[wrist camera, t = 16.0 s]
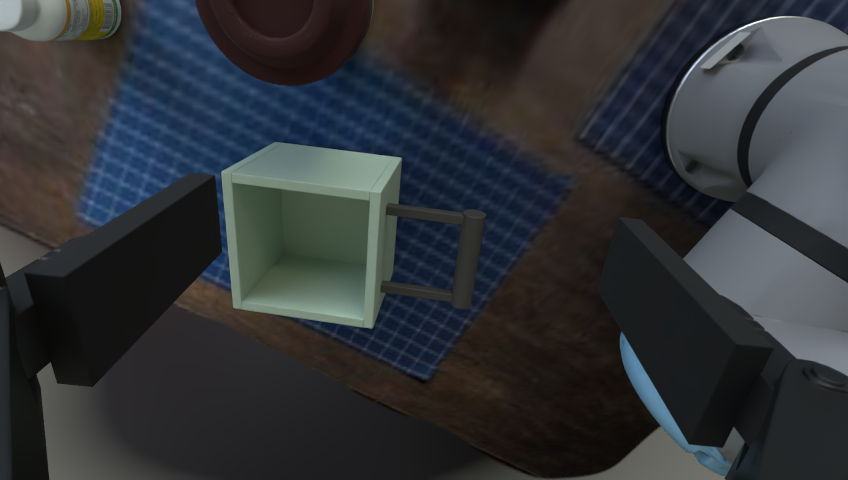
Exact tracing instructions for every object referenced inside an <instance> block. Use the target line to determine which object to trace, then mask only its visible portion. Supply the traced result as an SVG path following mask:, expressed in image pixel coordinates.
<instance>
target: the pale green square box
mask: <svg viewBox="0 0 848 480" xmlns="http://www.w3.org/2000/svg"><path fill="white" fill-rule="evenodd" d="M401 166H402V158H399V157H391V156H383V155H375V154H368V153H360V152H352V151H344V150H336V149H328V148H320V147H312V146H304V145H296V144H288V143H280V142H274V143H272V144H271V145H269V146H267V147H265V148H263V149H262V150H260V151H258V152H256V153H254V154H253V155H251V156H249V157H247V158H245V159H243V160H242V161H240V162H238V163H236V164H234V165H233V166H231V167H229V168H227V169H225V170H223V171H222V172H221V175H222V186H223V197H224V208H225V220H226V231H227V242H228V253H229V265H230V276H231V287H232V299H233V308H237V309H243V310H249V311H256V312H262V313H269V314H276V315H283V316H289V317H296V318H303V319H310V320H316V321H323V322H330V323H336V324H343V325H350V326H357V327H364V328H371V329H372V328H373V326H374V323H375V320H376V318H377V315H378V312H379V309H380V306H381V304H382V301H383V298H384V295H385V293H390V294H397V295H404V296H411V297H418V298H424V299H431V300H438V301H445V302H451V305H452V306H454V307H455V308H458V309H467V308H469V307H470V306H471V303H472V297H473V291H474V285H475V279H476V273H477V267H478V261H479V255H480V249H481V242H482V236H483V230H484V224H485V218H486V214H485V213H484V212H482V211H479V210H474V209H469V210H465V211H464V212H463V213H461V212H454V211H446V210H439V209H431V208H423V207H416V206H408V205H401V204H398V203H399V191H400V178H401ZM397 216H398V217H405V218H412V219H420V220H427V221H435V222H442V223H450V224H457V225H461V231H460V238H459V245H458V252H457V259H456V266H455V273H454V280H453V287H452V290H447V289H440V288H433V287H426V286H419V285H412V284H405V283H398V282H391V281H390V279H391V276H392V273H393V266H394V253H395V241H396V228H397Z"/></svg>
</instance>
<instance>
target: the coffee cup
mask: <svg viewBox="0 0 848 480" xmlns="http://www.w3.org/2000/svg"><path fill="white" fill-rule="evenodd" d="M195 2H196V6H197V10H198V12H199V15H200V18H201V20H202V22H203V24H204V26H205V28H206V30H207V32H208V34H209V35H210V37H211V39H212V40H213V41H214V43H215V44H216V46H217V47H218V48H219V49H220V51H221V52H222V53H223V54H224V55H225V56H226V57H227V58H228V59H229V60H230V61H231V62H232V63H233V64H235V65H236V66H237V67H239V68H240V69H241V70H243V71H245V72H246V73H248V74H249V75H251V76H253V77H255V78H257V79H260V80H263V81H265V82H269V83H272V84H277V85H285V86H297V85H305V84H309V83H312V82H316V81H318V80H321V79H323V78H325V77H327V76H329V75H331V74H332V73H334V72H336V71H337V70H338V69H340V68H341V67H342V66H343V65H344V64H345V63H346V62H347V61H348V60H349V59H350V58H351V57H352V55H353V54H354V52H355V51H356V49H357V48H358V46H359V44H360V42H361V40H362V39H363V37H364V36H365V34H366V32H367V30H368V28H369V25H370V23H371V19H372V15H373V0H195Z"/></svg>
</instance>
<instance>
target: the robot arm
mask: <svg viewBox="0 0 848 480" xmlns="http://www.w3.org/2000/svg"><path fill="white" fill-rule="evenodd" d="M661 140H662V146H663V150H664V154H665V156H666V159H667V161H668V163H669V165H670V166H671V168H672V169H673V171H674V172H675V173H676V174H677V175H678V176H679V178H681V179H682V180H683V181H684V182H685V183H687V184H688V185H690V186H691V187H693V188H694V189H696V190H698V191H699V192H701V193H703V194H705V195H708V196H711V197H714V198H718V199H721V200H725V201H731V202H736V203H735V204H734V205H733V206H732V207H731V209H730V208H729V210H728V211H727V212H726V213H725V214H724V215H723V216H722V217H721V218H720V219H719V220H718V221H717V223H716V224H715V225H714V226H713V227H712V228H711V229H710V230H709V231H708V232H707V233H706V234H705V236H704V237H703V238H702V239H701V240H700V241H699V242H698V243H697V244H696V245H695V246H694V248H693V249H692V250H691V251H690V252H689V253H688V254H687V255H686V256H685V257H684V258H683V259H682V258H681V257H680V256H679V255H678V254H677V253H676V252H675V251H674V250H673V249H672V248H671V247H670V246H669V245H668V244H667V243H666V242H664V241H663V240H662V239H661V238H660V237H659V236H658V235H657V234H656V233H655V232H654V231H653V230H652V229H651V228H650V227H649V226H648V225H647V224H646V223H645V222H644V221H643V220H642V219H633V218H623V217H618V220H617V223H616V227H615V230H614V233H613V237H612V240H611V244H610V247H609V250H608V254H607V257H606V260H605V264H604V267H603V271H602V274H601V277H600V281H599V284H598V287H597V291H598V292H599V294H600V296H601V297H602V299H603V301H604V303H605V304H606V306H607V308H608V309H609V311H610V313H611V314H612V316H613V318H614V319H615V321H616V323H617V324H618V326H619V328H620V330H621V331H622V332H621V335H620V351H621V357H622V362H623V365H624V368H625V370H626V373H627V375H628V377H629V379H630V381H631V383H632V385H633V387H634V389H635V390H636V392H637V394H638V395H639V397H640V398H641V400H642V401H643V403H644V404H645V406H646V407H647V409H648V410H649V411H650V413H651V414H652V415H653V417H654V418H655V419H656V420H657V422H658V423H659V424H660V425H661V427H662V428H663V429H664V430H665V431H666V432H667V433H668V434H669V435H670V437H671V438H672V439H673V440H674V441H675V442H676V443H677V444H678V445H679V446H680V447H681V448H683V449H684V450H685V451H686V452H688V453H693V454H694V455H695V457H696V458H697V459H698V461H699V462H700V464H702V465H703V466H705V467H706V468H708V469H709V470H711V471H713V472H715V473H717V474H719V475H722V476H726V477H725V479H726V480H848V35H846V34H845V33H843V32H842V31H840V30H838V29H837V28H835V27H833V26H831V25H829V24H827V23H824V22H821V21H817V20H814V19H810V18H805V17H798V16H777V17H765V18H759V19H755V20H751V21H748V22H745V23H742V24H740V25H737V26H735V27H733V28H731V29H729V30H727V31H725V32H724V33H722V34H720V35H719V36H717V37H716V38H714V39H713V40H711V41H710V42H709V43H708V44H706V45H705V46H704V47H703V48H702V49H701V50H699V51H698V52H697V53H696V54H695V55H694V56H693V57H692V59H691V60H690V61H689V62H688V63H687V64H686V66H685V67H684V68H683V69H682V71H681V72H680V74H679V75H678V77H677V79H676V80H675V82H674V84H673V86H672V88H671V90H670V92H669V94H668V97H667V100H666V102H665V106H664V110H663V114H662V120H661ZM738 213H739V214H738ZM741 215H742V216H741ZM743 216H744V217H743ZM746 218H747V219H746ZM748 219H749V220H750V221H749V220H748ZM751 221H752V222H753V223H752V222H751ZM754 223H755V224H754ZM757 225H758V226H757ZM759 226H760V227H761V228H760V227H759ZM762 228H763V229H764V230H763V229H762ZM765 230H766V231H765ZM768 232H769V233H768ZM771 234H772V235H771ZM773 235H774V236H775V237H774V236H773ZM776 237H777V238H776ZM778 238H779V239H780V240H779V239H778ZM781 240H782V241H783V242H782V241H781ZM784 242H785V243H784ZM787 244H788V245H787ZM790 246H791V247H790ZM793 248H794V249H793ZM795 249H796V250H795ZM798 251H799V252H798ZM221 252H222V245H221V234H220V224H219V213H218V203H217V192H216V182H215V175H207V174H197V173H190V174H188V175H187V176H185V177H183V178H182V179H180V180H178V181H177V182H175V183H173V184H172V185H170V186H168V187H167V188H165V189H163V190H162V191H160V192H158V193H157V194H155V195H153V196H151V197H150V198H148V199H146V200H145V201H143V202H141V203H140V204H138V205H136V206H135V207H133V208H131V209H130V210H128V211H126V212H125V213H123V214H121V215H120V216H118V217H116V218H115V219H113V220H111V221H110V222H108V223H106V224H105V225H103V226H101V227H100V228H98V229H96V230H95V231H93V232H91V233H89V234H87V235H84V236H81V237H78V238H75V239H72V240H69V241H68V242H66V243H64V244H63V245H61V246H59V247H57V248H56V249H54V252H52V251H51V252H49V253H47V254H46V255H44V256H42V257H41V259H40V260H39V259H37V260H35V261H34V262H32V263H30V264H28V265H27V266H25V267H23V268H21V269H20V270H18V271H16V272H15V273H13V274H11V275H10V276H8V277H6V278H5V276H4V273H3V270H2V267H1V264H0V480H49V472H48V462H47V451H46V440H45V430H44V420H43V409H42V398H41V387H40V384H39V381H38V378H37V375H36V374H37V373H38V372H39V371H40V370H41V369H43V368H44V367H45V366H46V365H47V364H48V363H50V362H51V364H52V367H53V371H54V374H55V377H56V380H57V383H59V384H69V385H79V386H90V387H93V386H94V385H95V384H96V383H97V382H98V381H99V380H100V379H101V378H102V377H103V376H104V375H105V373H106V372H107V371H108V370H109V369H110V368H111V367H112V366H113V365H114V364H115V363H116V362H117V361H118V360H119V359H120V358H121V357H122V356H123V355H124V354H125V352H127V351H128V350H129V348H130V347H131V346H132V345H133V344H134V343H135V342H136V341H137V340H138V339H139V338H140V337H141V336H142V335H143V334H144V333H145V332H146V331H147V330H148V329H149V327H150V326H151V325H152V324H153V323H154V322H155V321H156V320H157V319H158V318H159V317H160V316H161V315H162V314H163V313H164V312H165V311H166V310H167V309H168V308H169V307H170V306H171V305H172V304H173V303H174V301H175V300H176V299H177V298H178V297H179V296H180V295H181V294H182V293H183V292H184V291H185V290H186V289H187V288H188V287H189V286H190V285H191V284H192V283H193V282H194V281H195V280H196V279H197V277H198V276H199V275H200V274H201V273H202V272H203V271H204V270H205V269H206V268H207V267H208V266H209V265H210V264H211V263H212V262H213V261H214V260H215V259H216V258H217V257H218V256H219V254H220V253H221ZM801 253H802V254H801ZM803 254H804V255H805V256H804V255H803ZM806 256H807V257H806ZM809 258H810V259H809ZM812 260H813V261H812ZM815 262H816V263H815ZM817 263H818V264H817ZM820 265H821V266H820ZM823 267H824V268H823ZM826 269H827V270H826ZM828 270H829V271H828ZM831 272H832V273H831ZM834 274H835V275H834ZM837 276H838V277H837ZM845 281H846V282H845Z"/></svg>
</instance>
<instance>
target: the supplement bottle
mask: <svg viewBox="0 0 848 480" xmlns="http://www.w3.org/2000/svg"><path fill="white" fill-rule="evenodd" d="M120 22H121V6H120V2H119V0H0V31H11V32H12V33H14V34H16V35H18V36H20V37H22V38H25V39H28V40H32V41H67V40H99V39H104V38H107V37H109V36H111V35H112V34H113V33H114V32H115V31H116V30H117V29H118V27H119V24H120Z"/></svg>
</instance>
